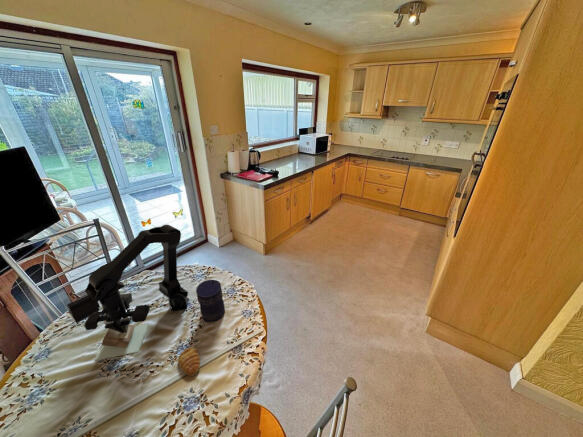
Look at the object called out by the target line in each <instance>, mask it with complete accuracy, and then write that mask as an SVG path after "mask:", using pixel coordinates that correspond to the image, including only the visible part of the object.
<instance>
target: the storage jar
mask: <svg viewBox="0 0 583 437" xmlns="http://www.w3.org/2000/svg"><path fill="white" fill-rule="evenodd" d="M222 289H223V288H222V285H221V282H220V281H218V280H217V279H207V280H204V281H202V282H200V283H199V284H198V285H197V287H196V289H195V290H196V291H195V292H196V298H197V302H198V304H199V309H200V314H201V318H202V320H203V321H204V322H206V323H208V324H209V323H216V322H219V321H220V320H222V318H224V316H225V314H226V310H225V308H226V307H225V302H224V299H223V290H222Z"/></svg>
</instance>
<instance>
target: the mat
mask: <svg viewBox="0 0 583 437" xmlns="http://www.w3.org/2000/svg"><path fill="white" fill-rule="evenodd" d="M148 328H149V323H146V324H139V325H136V326H135V328H134V331H133V333H132V336H131V338H130V341H129V343H128V345H127V348H124V347H113V346H102V345H101V347H100V349H99V351H98V353H97V355H96V357H95V358H94V361H99V360H104V359H109V358H110V359H111V358H114V357H121V356H125V355H130V354H135V353H139V352H140V350H141V348H142V344H143V342H144V339H145V335H146V334H147V330H148Z"/></svg>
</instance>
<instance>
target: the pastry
mask: <svg viewBox="0 0 583 437" xmlns="http://www.w3.org/2000/svg"><path fill="white" fill-rule="evenodd" d="M200 358H201V356H200V354H199V352H198V350H197V348H196V347H192V346H191V347H190V346H189V347H187V348H185V349H184V350H183V351H182V352H180V354H179V356H178V365H179V368H180V369H181V370H182V371H183V373H184V374H186V376H189V377H193V376H195V375H196V374H197V373H198V372H199V371H200V368H201V361H200V360H201V359H200Z"/></svg>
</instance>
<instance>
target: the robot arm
mask: <svg viewBox="0 0 583 437" xmlns="http://www.w3.org/2000/svg"><path fill="white" fill-rule="evenodd" d="M181 232H182V231H180V229H178V228H176V227H174V226H172V225H170V224H163V225H162V226H156V227H155V226H154V227H152V228H150V229H145V230H141V231H140V232H139V233H138V235H137V236H135V238H134V239H133V240H132V241H131V242H129V244H128V245H127V246H126V247H125V248H123V250H121V251H120V252H119V253H118V254H117V256H115V257H114V258H113V259H112V260H110V261H109V262H108V263H105V264H103V265H101V266H99V267H98V268H97V269H95V270H94V271H93V272H91V274H90V275H89V277H88V284H87V285H86V288H85V290H84V292H85V293H86V295H84V296H83V297H80V298H79V299H76V300H75V301H72V302H70V303H67V305H66V306H67V311H68V313H69V314H70V316H71V318H72V319H73V320H74V323H76V324H79V323H80V322H82V321H84V320H85V321H84V326H83V327H84V328H85V330H86V331H92V330H96V329H98V327H99V325H98V323H99V322H103V324H104V329H105V330H108V329H112V330H115V331H118V332H121V333H127V331H128V325H131V324H130V323H131V321H132V322H134V323H141V322H145V321H146V320H147V317H148V315H149V312H150V309H151V308H150V306H149V305H148V304H142V305H136V306H135V308H134V310H133V308H130V307H131V305H130V304H131V303H133V294H132V293H131V292H129V293H122V294H121V293H120V290H121V289H123V288H125V287H126V286H125V284H124V283H123V282H122V281H121V279H122V277H123V273H124V271H125V270H126V269H127V268H128V267H129V266H130V265H131V264H132V262H134V261H135V259H137V257H138V256H140V255H141V253H142V252H143V251H145V249H146V248H148V246H149V245H151V244H155V243H156V244H158V243H159V244H161V246H162V251H163V279H162V281H159V282H158V287H159V288H158V291H159V292H160V293H161V294H163V295H164V296H165V297H166V298H167V299H168V304H169V306H170V308H171V309H170V311H171V312H178V311H183V310H187V309H188V305H189V297H188V296H189V292H188V291H187V290H186V289H185V288H183V287H182V286H181V283H180V281H179V278H178V266H177V265H178V262H177V260H178V259H177V256H178V255H177V253H178V252H177V251H178V250H177V247H178V246H179V244H180V243H181V237H182V233H181ZM99 303H100V304H99ZM100 305H101V306H100ZM101 307H102V310H100V308H101Z"/></svg>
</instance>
